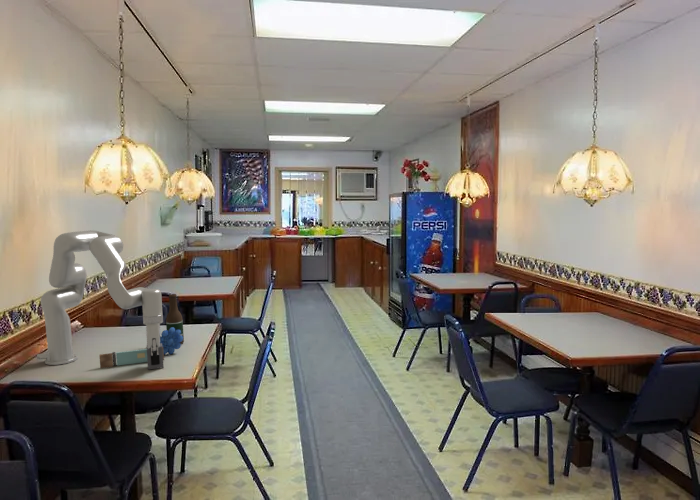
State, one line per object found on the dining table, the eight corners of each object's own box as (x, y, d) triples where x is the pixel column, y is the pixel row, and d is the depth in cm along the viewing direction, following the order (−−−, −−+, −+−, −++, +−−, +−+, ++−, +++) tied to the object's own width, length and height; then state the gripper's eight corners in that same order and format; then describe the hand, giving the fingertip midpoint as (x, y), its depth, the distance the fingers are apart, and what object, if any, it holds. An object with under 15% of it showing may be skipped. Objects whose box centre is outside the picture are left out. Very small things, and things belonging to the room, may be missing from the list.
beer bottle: (179, 346, 254) (175, 295, 252) (164, 345, 256) (160, 295, 253) (187, 341, 262) (184, 292, 259) (172, 341, 263) (169, 292, 261)
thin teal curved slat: (117, 365, 227) (116, 353, 226) (117, 364, 228) (116, 352, 227) (149, 361, 231) (148, 349, 231) (149, 360, 232) (148, 348, 232)
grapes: (182, 349, 248) (181, 324, 247) (185, 353, 242) (183, 327, 241) (155, 353, 243) (154, 327, 242) (157, 357, 237) (155, 330, 236)
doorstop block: (147, 369, 220) (146, 348, 219) (147, 365, 225) (146, 344, 224) (163, 367, 222) (162, 346, 221) (163, 364, 227) (162, 343, 226)
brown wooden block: (100, 368, 225) (99, 354, 224) (100, 367, 226) (99, 353, 225) (164, 360, 233) (163, 346, 233) (163, 359, 234) (163, 346, 234)
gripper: (143, 315, 228) (145, 357, 230) (143, 324, 212) (145, 370, 214) (162, 314, 231) (164, 355, 233) (163, 323, 215) (165, 367, 217)
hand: (155, 362), depth 223 cm, fingers closed on doorstop block, 5 cm apart
